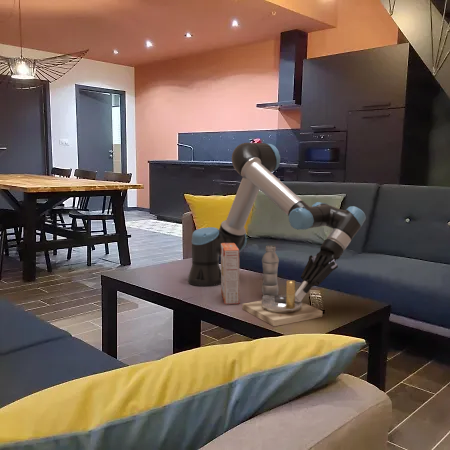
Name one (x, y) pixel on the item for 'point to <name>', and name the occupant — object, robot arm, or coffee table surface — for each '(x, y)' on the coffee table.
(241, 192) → the robot arm
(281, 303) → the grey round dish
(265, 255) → the plastic bottle
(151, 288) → the coffee table surface
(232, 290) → the cracker box
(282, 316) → the nut board
